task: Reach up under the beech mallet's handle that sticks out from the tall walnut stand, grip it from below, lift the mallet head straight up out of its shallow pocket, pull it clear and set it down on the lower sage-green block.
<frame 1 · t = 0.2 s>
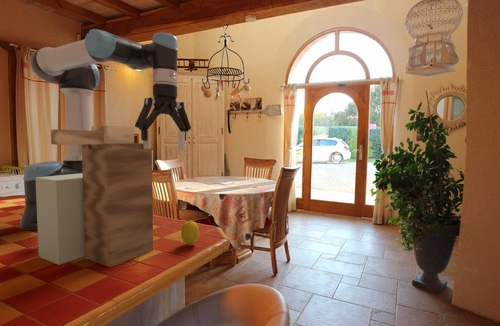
hand: (165, 151, 99), 29 cm above the kitchen counter, tool pointing down, fingers open, 13 cm apart
lemon: (190, 245, 94), on the kitchen counter
mallet: (113, 148, 82), point 30 cm above the kitchen counter, touching walnut stand
walnut stand: (120, 254, 86), on the kitchen counter
sage block: (74, 252, 87), on the kitchen counter
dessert: (131, 228, 113), on the kitchen counter
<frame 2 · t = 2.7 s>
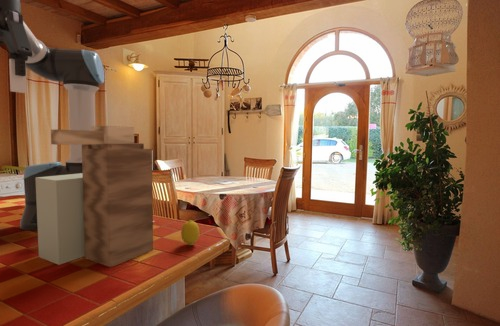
hand: (2, 94, 67), 42 cm above the kitchen counter, tool pointing down, fingers open, 13 cm apart
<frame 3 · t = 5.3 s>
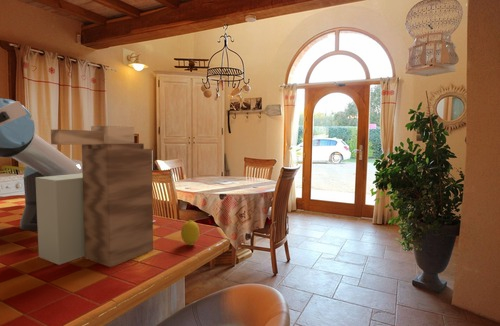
hand: (6, 108, 62), 39 cm above the kitchen counter, tool pointing upward, fingers open, 13 cm apart
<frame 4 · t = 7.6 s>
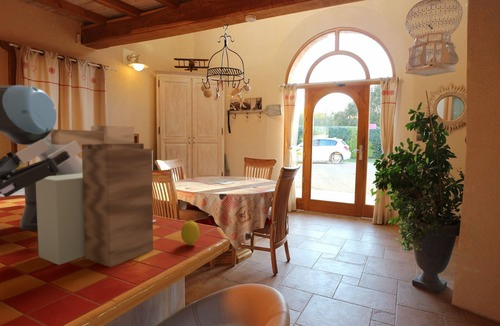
hand: (61, 144, 70), 31 cm above the kitchen counter, tool pointing upward, fingers open, 13 cm apart
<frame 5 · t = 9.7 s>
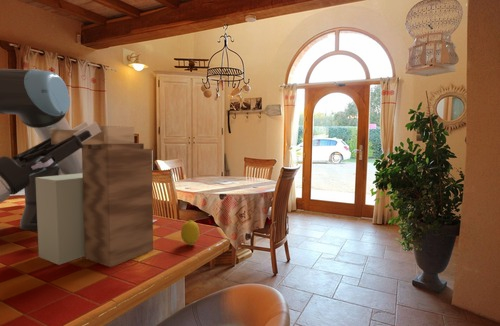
hand: (92, 126, 77), 36 cm above the kitchen counter, tool pointing upward, fingers closed on mallet, 3 cm apart
mallet: (113, 148, 82), point 30 cm above the kitchen counter, touching gripper, walnut stand
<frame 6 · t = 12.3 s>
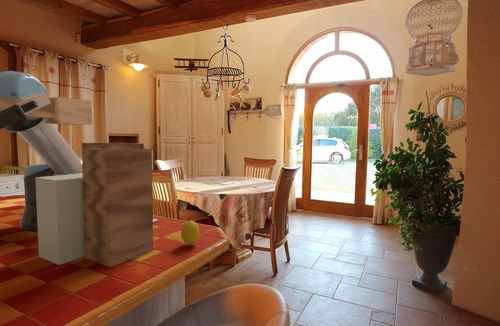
hand: (42, 98, 70), 42 cm above the kitchen counter, tool pointing upward, fingers closed on mallet, 3 cm apart
mallet: (68, 124, 75), point 36 cm above the kitchen counter, touching gripper
when the fingers open (29 cm above the kitchen counter, at t = 15.2 s): mallet stays where it is, resting on sage block.
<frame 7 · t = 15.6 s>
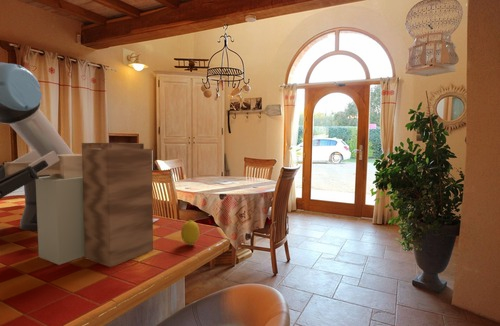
hand: (46, 154, 79), 28 cm above the kitchen counter, tool pointing upward, fingers open, 8 cm apart
mallet: (72, 176, 85), point 22 cm above the kitchen counter, touching sage block
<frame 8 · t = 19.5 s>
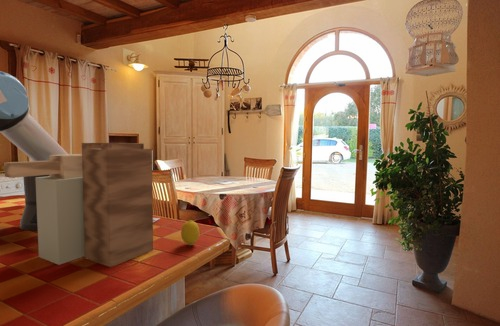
at the end: mallet inside the target area on the sage block (0.1 cm from its centre), point 22.0 cm above the sage block's base; the gripper is holding nothing; mallet touching sage block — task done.
